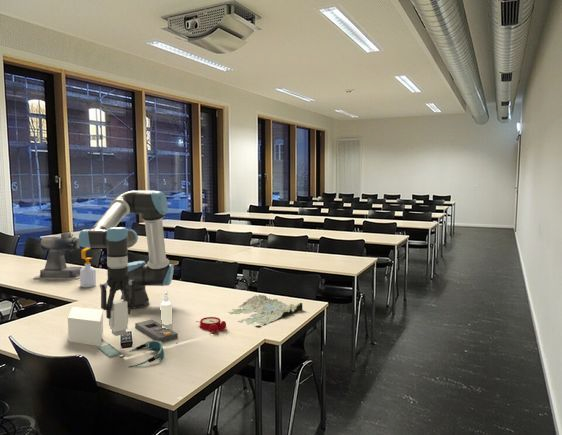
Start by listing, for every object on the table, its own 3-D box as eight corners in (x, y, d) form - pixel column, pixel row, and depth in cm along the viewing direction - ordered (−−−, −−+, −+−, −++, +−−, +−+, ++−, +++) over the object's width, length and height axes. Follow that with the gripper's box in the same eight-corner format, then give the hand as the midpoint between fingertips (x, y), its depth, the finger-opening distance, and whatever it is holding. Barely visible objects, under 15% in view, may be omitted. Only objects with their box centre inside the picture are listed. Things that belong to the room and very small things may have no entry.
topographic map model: (258, 329, 193) (258, 318, 193) (214, 316, 211) (214, 306, 211) (302, 311, 221) (302, 302, 221) (260, 301, 239) (260, 292, 239)
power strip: (129, 326, 193) (129, 318, 193) (146, 322, 198) (146, 314, 198) (160, 345, 171) (159, 336, 171) (177, 340, 176) (177, 331, 176)
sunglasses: (170, 359, 158) (168, 347, 157) (130, 375, 149) (128, 362, 148) (157, 347, 169) (155, 336, 168) (119, 361, 160) (117, 349, 159)
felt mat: (98, 348, 167) (98, 346, 167) (127, 340, 175) (127, 339, 175) (109, 357, 158) (109, 356, 158) (140, 349, 166) (140, 347, 166)
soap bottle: (98, 285, 269) (98, 247, 267) (85, 288, 261) (84, 249, 259) (90, 283, 273) (89, 246, 271) (77, 286, 266) (76, 247, 264)
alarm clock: (210, 315, 199) (231, 315, 190) (212, 328, 199) (233, 328, 189) (192, 320, 192) (213, 320, 182) (194, 334, 191) (215, 335, 181)
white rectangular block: (82, 351, 164) (81, 325, 163) (56, 332, 184) (55, 310, 183) (118, 341, 175) (117, 317, 174) (89, 325, 195) (89, 303, 194)
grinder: (46, 273, 301) (44, 231, 299) (89, 273, 302) (88, 231, 299) (31, 279, 283) (30, 234, 280) (78, 279, 284) (77, 234, 281)
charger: (109, 333, 166) (109, 301, 165) (122, 330, 170) (122, 299, 169) (114, 336, 162) (114, 304, 162) (127, 333, 166) (127, 301, 165)
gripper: (97, 271, 155) (98, 332, 157) (143, 265, 167) (144, 322, 169) (90, 268, 161) (91, 327, 162) (136, 262, 173) (136, 317, 175)
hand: (118, 324), depth 166 cm, fingers closed on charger, 5 cm apart
